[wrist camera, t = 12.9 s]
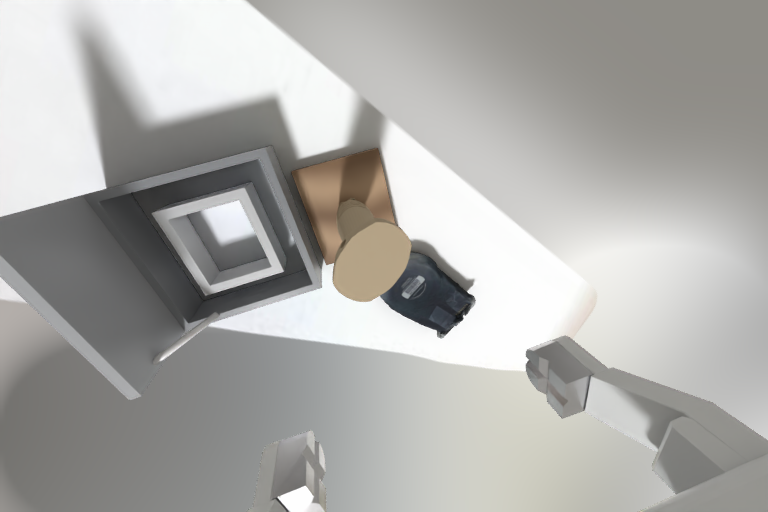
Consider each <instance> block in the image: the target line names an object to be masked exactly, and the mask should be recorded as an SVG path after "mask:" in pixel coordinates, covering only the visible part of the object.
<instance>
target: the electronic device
mask: <svg viewBox="0 0 768 512" xmlns="http://www.w3.org/2000/svg"><path fill="white" fill-rule="evenodd" d="M380 297H381V298H382V299H383V300H384V302H385V303H386V304H388V305H389V307H390V308H391V309H393V310H395V311H396V312H398V313H400V314H401V315H403V316H405V317H407V318H409V319H411V320H413V321H415V322H417V323H419V324H421V325H424V326H426V327H429V328H432V329H434V330H437V337H439V338H441V339H442V338H443V337H444V336H445V335H446V334H447V333H448V332H449V331H450V330H451V329H452V328H453V327H454V326H457V325H458V323H460V322H461V321H462V320H463V315H464V314H465V316H466V315H467V314H468V312H469V310H470V309H471V308H472V307H473V306H474V305H475V301H476V300H475V298H474V296H473V295H470V294H468V293H467V292H466V291H465V290H464V289H463V288H461V287H460V286H459V285H458V284H457V283H455V282H454V281H453V280H452V279H451V278H450V277H448V276H447V275H446V274H445V273H444V272H443V271H441V270H440V269H439V268H438V267H437V265H436V263H435V262H434V261H433V260H432V259H431V258H430V257H428V256H426V255H423V254H420V253H410V256H409V260H408V263H407V266H406V269H405V270H404V272H403V273H402V275H401V276H400V277H399V279H398V280H397V281H396V283H395V284H394V285H393V286H392V287H391V288H390V289H389V290H388V291H386V292H385V293H383V294H382V295H380Z"/></svg>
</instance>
